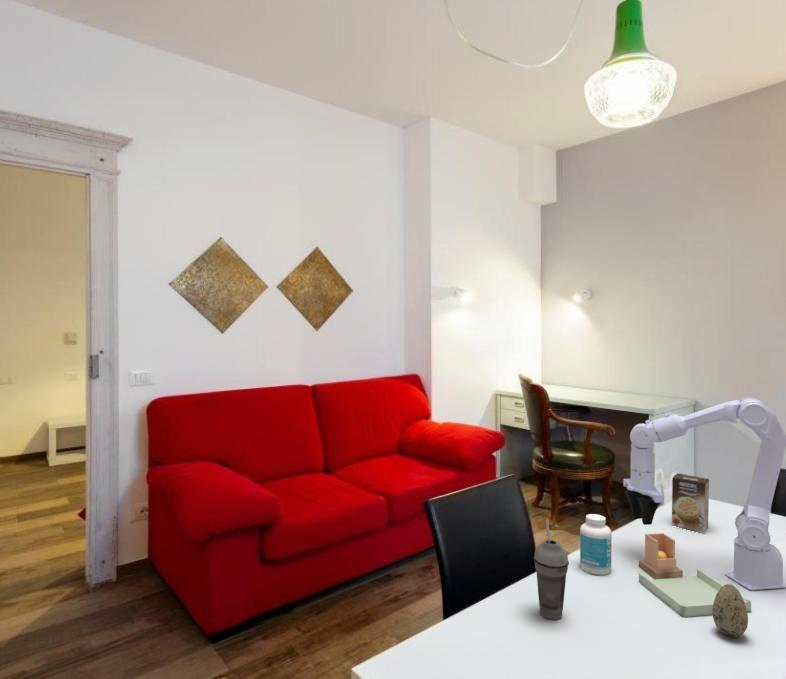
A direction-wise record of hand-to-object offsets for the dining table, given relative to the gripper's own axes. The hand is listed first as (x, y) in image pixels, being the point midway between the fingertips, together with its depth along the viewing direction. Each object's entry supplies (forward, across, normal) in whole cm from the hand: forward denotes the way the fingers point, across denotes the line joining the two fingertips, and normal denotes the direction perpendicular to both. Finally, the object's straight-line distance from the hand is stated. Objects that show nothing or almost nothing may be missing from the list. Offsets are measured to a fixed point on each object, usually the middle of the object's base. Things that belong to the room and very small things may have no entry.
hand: (642, 521), depth 136 cm
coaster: (+10, +8, 0) cm, 13 cm away
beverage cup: (+11, +22, -35) cm, 42 cm away
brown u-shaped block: (+8, +8, 0) cm, 11 cm away
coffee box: (+11, -18, +27) cm, 34 cm away
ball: (+8, +8, 0) cm, 11 cm away
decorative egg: (+11, +34, -3) cm, 35 cm away
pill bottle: (+11, +4, -15) cm, 19 cm away
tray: (+10, +19, 0) cm, 21 cm away
